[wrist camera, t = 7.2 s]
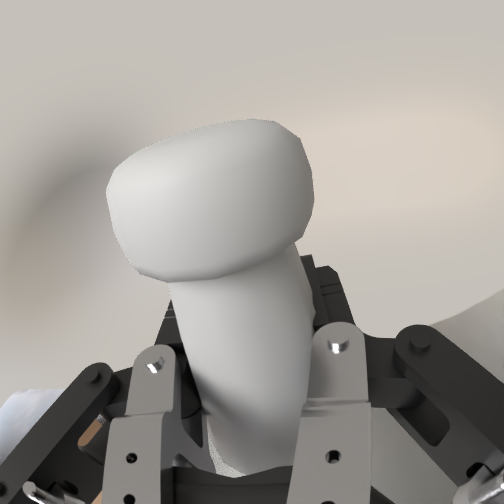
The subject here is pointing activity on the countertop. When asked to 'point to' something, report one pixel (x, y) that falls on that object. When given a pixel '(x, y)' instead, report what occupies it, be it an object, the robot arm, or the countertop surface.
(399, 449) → the countertop surface
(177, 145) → the salt shaker
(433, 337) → the robot arm
